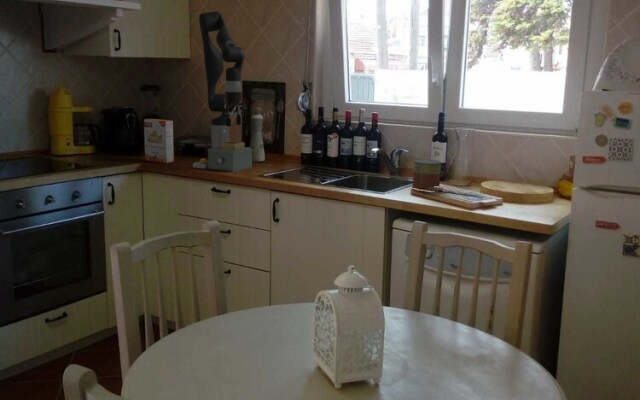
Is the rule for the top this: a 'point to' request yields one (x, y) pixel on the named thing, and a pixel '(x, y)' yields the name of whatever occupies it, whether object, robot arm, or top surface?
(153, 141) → the cracker box
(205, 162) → the bead
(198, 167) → the bead dish
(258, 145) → the bottle
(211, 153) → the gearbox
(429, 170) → the canned food
